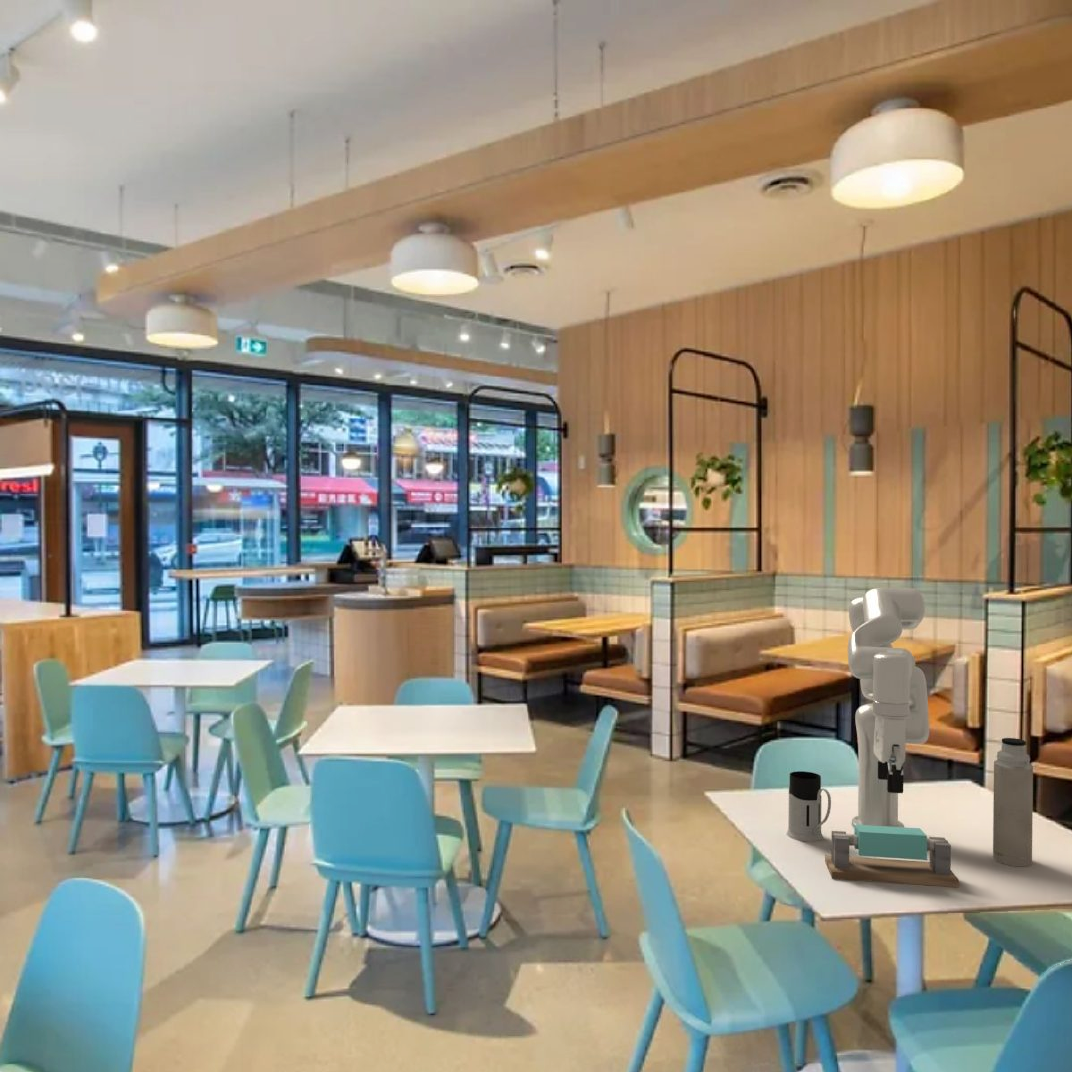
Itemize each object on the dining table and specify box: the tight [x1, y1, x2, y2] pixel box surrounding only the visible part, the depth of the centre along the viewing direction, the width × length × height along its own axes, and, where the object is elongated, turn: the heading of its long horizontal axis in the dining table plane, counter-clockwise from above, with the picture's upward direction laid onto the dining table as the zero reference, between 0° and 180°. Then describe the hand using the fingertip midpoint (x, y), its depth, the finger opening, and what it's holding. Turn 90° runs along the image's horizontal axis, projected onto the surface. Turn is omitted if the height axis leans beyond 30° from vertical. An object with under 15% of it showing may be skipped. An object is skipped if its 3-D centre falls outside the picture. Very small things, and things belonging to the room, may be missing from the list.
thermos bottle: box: [992, 737, 1034, 867], centre depth 204 cm, size 8×8×28 cm
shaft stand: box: [824, 830, 960, 888], centre depth 196 cm, size 10×26×8 cm, turn 80°
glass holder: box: [786, 770, 832, 842], centre depth 218 cm, size 9×14×15 cm, turn 19°
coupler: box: [853, 824, 928, 861], centre depth 196 cm, size 6×14×5 cm, turn 80°
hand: (890, 785), depth 196 cm, fingers open, 9 cm apart
